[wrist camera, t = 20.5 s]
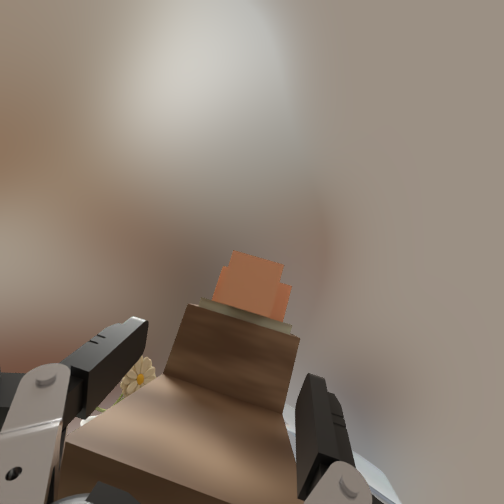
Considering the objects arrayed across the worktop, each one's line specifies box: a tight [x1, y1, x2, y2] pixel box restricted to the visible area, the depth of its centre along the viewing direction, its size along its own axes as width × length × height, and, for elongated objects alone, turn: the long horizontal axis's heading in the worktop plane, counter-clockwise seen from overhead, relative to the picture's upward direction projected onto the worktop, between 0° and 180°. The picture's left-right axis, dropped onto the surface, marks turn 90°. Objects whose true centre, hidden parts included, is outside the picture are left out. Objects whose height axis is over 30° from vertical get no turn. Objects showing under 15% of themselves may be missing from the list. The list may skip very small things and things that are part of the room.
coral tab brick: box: [212, 250, 292, 322], centre depth 27 cm, size 19×8×4 cm, turn 179°
